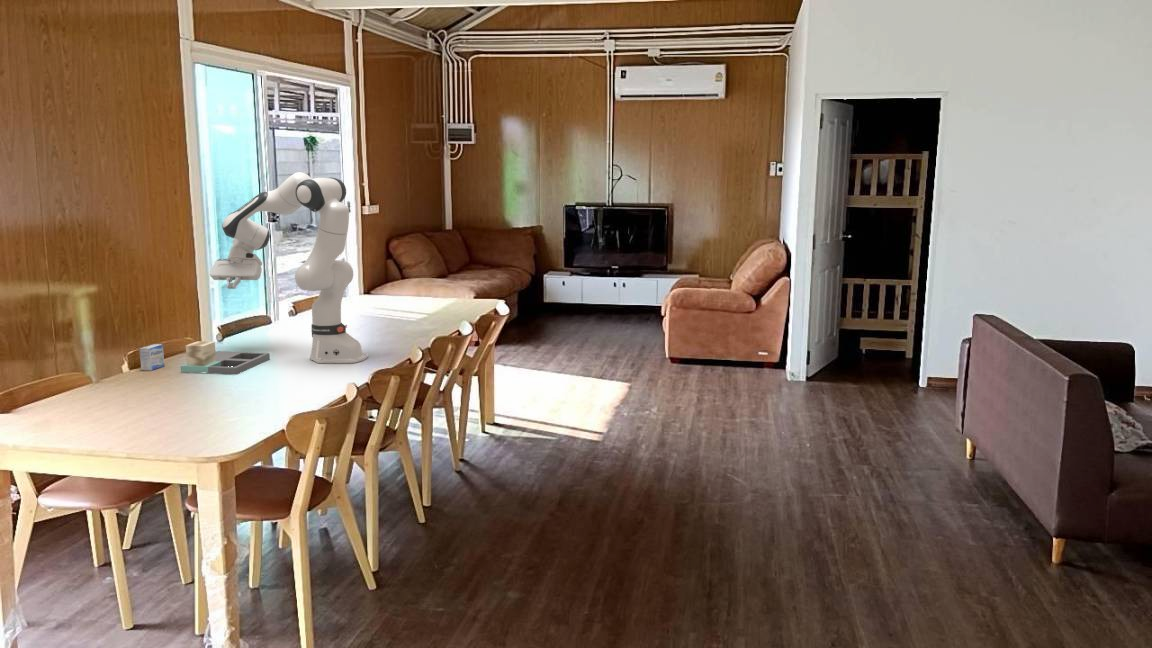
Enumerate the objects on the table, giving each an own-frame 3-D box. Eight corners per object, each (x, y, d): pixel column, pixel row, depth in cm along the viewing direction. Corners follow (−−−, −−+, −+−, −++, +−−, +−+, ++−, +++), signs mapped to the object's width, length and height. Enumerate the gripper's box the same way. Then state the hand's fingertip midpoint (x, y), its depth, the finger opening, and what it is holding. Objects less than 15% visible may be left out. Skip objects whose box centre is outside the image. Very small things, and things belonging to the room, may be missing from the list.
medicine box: (151, 371, 333) (149, 348, 331) (140, 370, 334) (139, 347, 332) (165, 366, 340) (163, 344, 339) (154, 365, 341) (152, 343, 340)
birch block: (216, 361, 338) (214, 341, 337) (204, 365, 331) (203, 346, 329) (199, 360, 339) (197, 341, 338) (187, 365, 332) (185, 345, 330)
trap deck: (269, 359, 353) (269, 353, 353) (235, 374, 328) (235, 368, 328) (218, 357, 356) (218, 351, 356) (181, 372, 331) (180, 365, 331)
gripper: (212, 254, 360) (202, 283, 353) (259, 254, 357) (251, 284, 350) (219, 263, 365) (210, 292, 359) (266, 263, 363) (258, 292, 356)
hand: (231, 288), depth 354 cm, fingers closed
